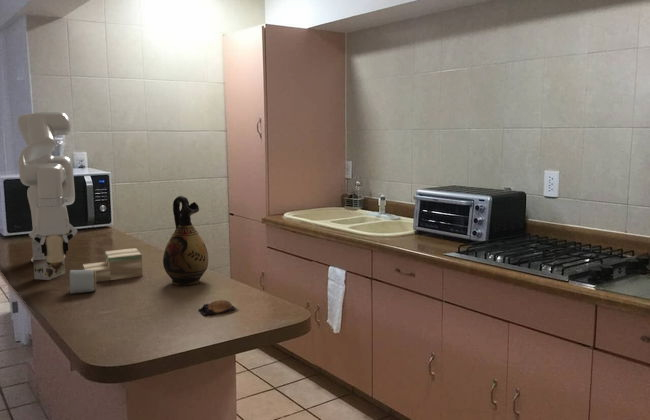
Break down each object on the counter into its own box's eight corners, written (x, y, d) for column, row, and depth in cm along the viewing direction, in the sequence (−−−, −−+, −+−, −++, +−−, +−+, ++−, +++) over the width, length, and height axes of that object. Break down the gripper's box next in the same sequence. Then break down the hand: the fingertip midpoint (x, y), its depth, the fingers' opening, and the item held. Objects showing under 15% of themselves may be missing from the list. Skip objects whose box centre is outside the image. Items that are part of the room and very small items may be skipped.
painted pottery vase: (218, 281, 199) (215, 196, 195) (180, 291, 188) (175, 201, 184) (190, 273, 211) (186, 192, 206) (153, 282, 200) (148, 197, 195)
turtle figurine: (229, 305, 174) (229, 294, 174) (240, 313, 167) (240, 301, 166) (196, 311, 169) (195, 299, 168) (205, 319, 161) (205, 307, 161)
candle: (50, 258, 199) (48, 231, 198) (66, 258, 200) (64, 230, 198) (44, 263, 194) (42, 234, 192) (61, 262, 194) (58, 234, 193)
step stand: (83, 274, 211) (82, 253, 210) (137, 268, 219) (135, 248, 218) (86, 283, 199) (84, 260, 198) (142, 276, 207) (141, 254, 206)
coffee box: (49, 280, 204) (46, 235, 201) (34, 279, 205) (30, 235, 202) (66, 273, 212) (62, 231, 210) (51, 273, 214) (47, 230, 211)
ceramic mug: (97, 293, 187) (95, 270, 186) (70, 296, 184) (68, 273, 183) (96, 285, 196) (95, 263, 195) (70, 288, 193) (69, 266, 192)
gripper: (77, 199, 201) (81, 249, 204) (22, 202, 193) (27, 254, 196) (79, 202, 194) (83, 253, 197) (22, 205, 186) (27, 259, 189)
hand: (55, 253), depth 197 cm, fingers closed on candle, 5 cm apart
